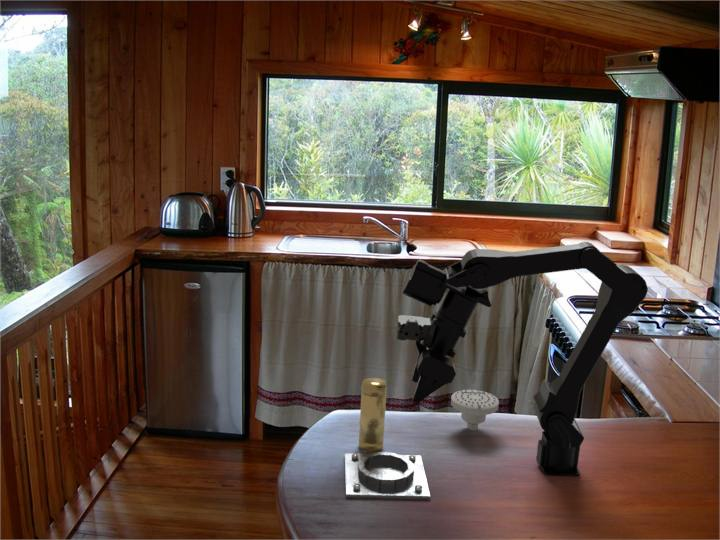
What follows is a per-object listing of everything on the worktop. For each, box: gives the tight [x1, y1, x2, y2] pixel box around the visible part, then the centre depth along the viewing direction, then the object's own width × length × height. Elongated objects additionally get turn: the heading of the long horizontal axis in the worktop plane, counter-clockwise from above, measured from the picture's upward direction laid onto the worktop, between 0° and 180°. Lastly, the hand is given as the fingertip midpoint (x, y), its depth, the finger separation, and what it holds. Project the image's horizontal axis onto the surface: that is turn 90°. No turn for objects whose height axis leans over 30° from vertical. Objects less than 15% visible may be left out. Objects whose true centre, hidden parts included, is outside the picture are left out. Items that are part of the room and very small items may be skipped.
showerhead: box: [450, 388, 500, 431], centre depth 153 cm, size 9×7×10 cm
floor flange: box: [344, 451, 431, 500], centre depth 134 cm, size 14×14×2 cm
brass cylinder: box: [358, 377, 388, 454], centre depth 143 cm, size 5×5×13 cm
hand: (414, 391), depth 138 cm, fingers open, 9 cm apart
